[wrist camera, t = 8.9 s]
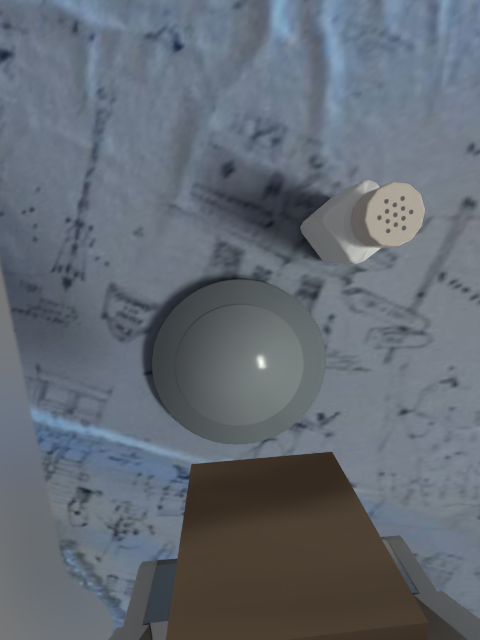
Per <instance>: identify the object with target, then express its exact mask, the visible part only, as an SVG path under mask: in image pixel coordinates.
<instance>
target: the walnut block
mask: <svg viewBox="0 0 480 640" xmlns="http://www.w3.org/2000/svg"><path fill="white" fill-rule="evenodd" d="M428 626H429V622H428V620H427V618H426V616H425V615H424V613H423V611H422V609H421V608H420V606H419V604H418V602H417V601H416V599H415V597H414V595H413V594H412V592H411V590H410V588H409V586H408V585H407V583H406V581H405V579H404V578H403V576H402V574H401V572H400V571H399V569H398V567H397V565H396V564H395V562H394V560H393V558H392V557H391V555H390V553H389V551H388V550H387V548H386V546H385V544H384V542H383V541H382V539H381V537H380V535H379V534H378V532H377V530H376V528H375V527H374V525H373V523H372V521H371V520H370V518H369V516H368V514H367V513H366V511H365V509H364V507H363V506H362V504H361V502H360V500H359V498H358V497H357V495H356V493H355V491H354V490H353V488H352V486H351V484H350V483H349V481H348V479H347V477H346V476H345V474H344V472H343V470H342V469H341V467H340V465H339V463H338V462H337V460H336V458H335V456H334V455H333V453H332V452H325V453H314V454H302V455H291V456H280V457H268V458H257V459H246V460H234V461H223V462H212V463H200V464H192V465H191V471H190V478H189V485H188V492H187V498H186V505H185V512H184V519H183V526H182V532H181V539H180V546H179V553H178V560H177V566H176V573H175V580H174V587H173V594H172V600H171V607H170V614H169V621H168V627H167V634H166V640H427V635H428Z"/></svg>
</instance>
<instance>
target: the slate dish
mask: <svg viewBox="0 0 480 640" xmlns="http://www.w3.org/2000/svg"><path fill="white" fill-rule="evenodd" d="M325 364H326V357H325V347H324V342H323V338H322V335H321V333H320V330H319V328H318V326H317V324H316V322H315V320H314V319H313V317H312V316H311V314H310V313H309V311H308V310H307V309H306V308H305V307H304V306H303V305H302V304H301V303H300V302H299V301H298V300H297V299H295V298H294V297H293V296H292V295H290V294H288V293H287V292H285V291H283V290H282V289H280V288H278V287H275V286H273V285H271V284H268V283H264V282H261V281H257V280H250V279H231V280H223V281H219V282H215V283H212V284H209V285H207V286H204V287H202V288H200V289H198V290H196V291H195V292H193V293H191V294H190V295H189V296H187V297H186V298H185V299H183V300H182V301H181V302H180V303H179V304H178V305H177V306H176V307H175V308H174V309H173V310H172V311H171V313H170V314H169V315H168V317H167V318H166V319H165V321H164V323H163V325H162V326H161V328H160V330H159V333H158V335H157V338H156V340H155V344H154V349H153V355H152V374H153V379H154V384H155V387H156V390H157V393H158V395H159V397H160V399H161V401H162V403H163V405H164V406H165V408H166V409H167V410H168V412H169V413H170V414H171V415H172V416H173V417H174V419H175V420H176V421H177V422H179V423H180V424H181V425H182V426H183V427H185V428H186V429H188V430H189V431H191V432H192V433H194V434H196V435H198V436H200V437H202V438H205V439H208V440H211V441H215V442H220V443H226V444H248V443H255V442H259V441H262V440H266V439H269V438H271V437H274V436H276V435H278V434H280V433H282V432H283V431H285V430H287V429H288V428H290V427H291V426H292V425H294V424H295V423H296V422H297V421H298V420H299V419H300V418H302V416H303V415H304V414H305V413H306V412H307V411H308V410H309V408H310V407H311V405H312V404H313V402H314V401H315V399H316V397H317V395H318V393H319V391H320V388H321V385H322V382H323V378H324V373H325Z"/></svg>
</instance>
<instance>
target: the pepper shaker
mask: <svg viewBox="0 0 480 640" xmlns="http://www.w3.org/2000/svg"><path fill="white" fill-rule="evenodd" d="M424 212H425V208H424V205H423V201H422V198H421V195H420V193H419V192H417V191H416V190H415V189H414V188H413V187H412V186H411V185H409V184H407V183H399V182H391V183H389V184H386V185H384V186H382V187H379V186H378V185H377V183H375V182H373V181H371V180H365V181H362V182H360V183H358V184H356V185H355V186H353V187H351V188H349V189H347V190H345V191H343V192H341V193H340V194H338V195H336V196H334V197H332V198H330V199H329V200H328V201H327V202H326V203H325V204H323V205H322V206H321V207H320V208H319V209H318V210H316V211H315V212H314V213H313V214H312V215H311V216H309V217H308V218H307V219H306V220H305V221H303V223H302V225H301V227H300V228H301V232H302V234H303V235H304V237H305V238H306V239H307V241H308V242H309V243H310V245H311V246H312V247H313V249H314V250H315V251H316V253H317V254H318V255H319V257H320V258H321V259H322V260H323V261H325V262H326V263H342V264H357V263H360V262H363V261H364V260H365V259H367V258H368V257H370V256H371V255H372V254H374V253H375V252H376V251H378V250H379V249H380V248H384V247H397V246H399V245H401V244H403V243H405V242H408V241H410V240H411V239H412V238H413V236H414V235H415V234H416V233H417V231H418V230H419V229H420V227H421V226H422V221H423V216H424Z"/></svg>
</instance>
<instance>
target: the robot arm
mask: <svg viewBox="0 0 480 640" xmlns="http://www.w3.org/2000/svg"><path fill="white" fill-rule="evenodd" d="M381 539H382V541H383V542H384V544H385V546H386V548H387V550H388V551H389V553H390V555H391V557H392V558H393V560H394V562H395V564H396V565H397V567H398V569H399V571H400V572H401V574H402V576H403V578H404V579H405V581H406V583H407V585H408V586H409V588H410V590H411V592H412V594H413V595H414V597H415V599H416V601H417V602H418V604H419V606H420V608H421V609H422V611H423V613H424V615H425V616H426V618H427V620H428V622H429V626H428V635H427V640H480V619H479V618H477V617H476V616H475V615H473V614H472V613H471V612H469V611H468V610H467V609H465V608H464V607H463V606H461V605H460V604H459V603H457V602H456V601H455V600H453V599H452V598H451V597H449V596H448V595H447V594H446V593H444V592H443V591H437V590H436V589H435V587H434V586H433V584H432V583H431V581H430V579H429V578H428V576H427V575H426V573H425V572H424V570H423V569H422V567H421V566H420V564H419V563H418V561H417V560H416V558H415V557H414V555H413V553H412V552H411V550H410V549H409V547H408V546H407V544H406V543H405V541H404V540H403V538H402V537H400V536H399V535H398V536H388V537H381ZM177 560H178V559H168V560H155V561H144V562H142V563H141V565H140V567H139V569H138V573H137V577H136V580H135V584H134V588H133V591H132V595H131V599H130V603H129V606H128V610H127V614H126V617H125V621H124V625H123V627H122V628H117V629H116V631H115V632H114V633H113V635H112V636H111V637H110V639H109V640H166V634H167V627H168V621H169V614H170V607H171V600H172V594H173V587H174V580H175V573H176V566H177Z"/></svg>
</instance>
